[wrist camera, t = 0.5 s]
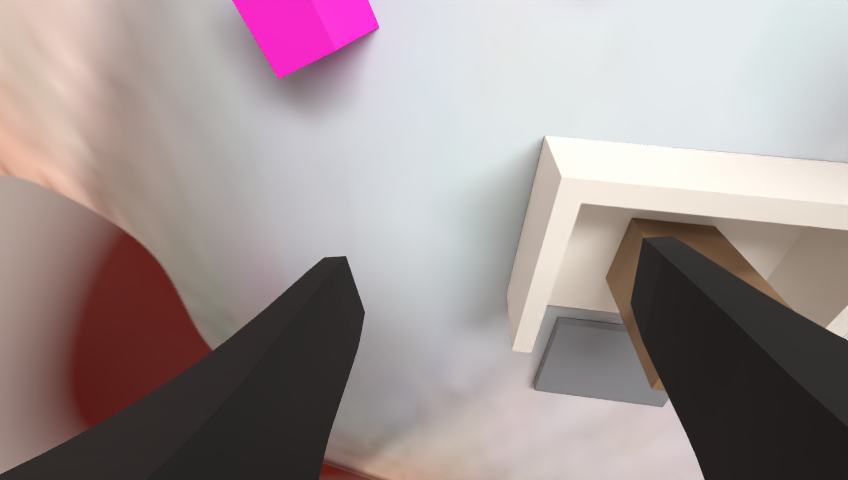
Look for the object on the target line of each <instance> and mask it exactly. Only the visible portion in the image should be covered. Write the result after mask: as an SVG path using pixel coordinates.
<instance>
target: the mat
mask: <svg viewBox="0 0 848 480" xmlns="http://www.w3.org/2000/svg"><path fill="white" fill-rule="evenodd" d="M534 388H535V390H536V391H544V392H551V393H559V394H566V395H574V396H582V397H589V398H597V399H604V400H612V401H619V402H627V403H635V404H642V405H650V406H657V407H663V406H664V404H665V403H666V402H667V400H668V399H669V397H668V394H667V392H666V391H660V390H652V389H651V387H650V384H649V382H648V379H647V377H646V375H645V372H644V370H643V367H642V365H641V363H640V360H639V358H638V355H637V353H636V351H635V348H634V346H633V343H632V341H631V339H630V336H629V334H628V331H627V329H626V327H625V325H620V324H612V323H604V322H595V321H587V320H578V319H570V318H562V317H558V318H557V321H556V324H555V327H554V329H553V332H552V335H551V338H550V340H549V343H548V346H547V349H546V351H545V354H544V357H543V359H542V362H541V365H540V368H539V370H538V373H537V376H536V379H535V381H534Z"/></svg>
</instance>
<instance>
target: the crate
mask: <svg viewBox="0 0 848 480" xmlns="http://www.w3.org/2000/svg"><path fill="white" fill-rule="evenodd" d="M631 218H642V219H651V220H661V221H671V222H680V223H690V224H700V225H710V226H715V227H716V228H717V229H718V230H719V231H720V232H721V233H722V234H723V235H724V236H725V237H726V238H727V239H728V240H729V242H730V243H731V244H732V245H733V246H734V247H735V248H736V249H737V250H738V251H739V252H740V253H741V254H742V256H743V257H744V258H745V259H746V260H747V261H748V262H749V263H750V264H751V265H752V266H753V267H754V268H755V270H756V271H757V272H758V273H759V274H760V275H761V276H762V277H763V278H764V279H765V280H766V281H767V282H768V284H769V285H770V286H771V287H772V288H773V289H774V290H775V291H776V292H777V293H778V294H779V295H780V296H781V298H782V299H783V300H784V301H785V302H786V303H787V304H788V305H789V306H790V307H791V308H792V309H793V310H794V311H795V312H797V313H799V314H800V315H802V316H804V317H806V318H808V319H809V320H811V321H813V322H815V323H817V324H818V325H820V326H822V327H824V328H826V329H827V330H829V331H831V332H833V333H835V334H837V335H838V336H840V337H842V338H843V337H844V336H845V335H846V334H847V333H848V163H838V162H827V161H816V160H805V159H794V158H783V157H772V156H761V155H750V154H739V153H728V152H717V151H706V150H695V149H684V148H674V147H663V146H652V145H641V144H630V143H619V142H608V141H597V140H586V139H575V138H564V137H553V136H545V138H544V142H543V146H542V150H541V154H540V158H539V162H538V166H537V171H536V175H535V179H534V183H533V187H532V191H531V195H530V199H529V203H528V208H527V212H526V216H525V220H524V224H523V228H522V232H521V236H520V241H519V245H518V249H517V253H516V257H515V261H514V265H513V269H512V273H511V278H510V282H509V286H508V290H507V302H508V313H509V324H510V335H511V346H512V351H519V352H527V353H531V352H532V349H533V346H534V343H535V340H536V337H537V334H538V331H539V328H540V325H541V322H542V319H543V316H544V313H545V310H546V307H547V305H554V306H563V307H571V308H579V309H588V310H596V311H605V312H613V313H620V312H619V310H618V307H617V305H616V303H615V300H614V298H613V295H612V293H611V290H610V288H609V286H608V283H607V281H606V276H607V273H608V271H609V269H610V266H611V264H612V262H613V259H614V257H615V255H616V253H617V250H618V248H619V246H620V243H621V241H622V239H623V236H624V234H625V232H626V229H627V227H628V225H629V222H630V220H631Z"/></svg>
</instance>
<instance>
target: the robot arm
mask: <svg viewBox="0 0 848 480" xmlns="http://www.w3.org/2000/svg"><path fill="white" fill-rule="evenodd" d="M630 304H631V307H632V310H633V314H634V317H635V320H636V324H637V327H638V330H639V333H640V336H641V339H642V342H643V344H644V346H645V348H646V350H647V353H648V355H649V357H650V359H651V361H652V363H653V365H654V367H655V369H656V372H657V374H658V376H659V378H660V380H661V382H662V384H663V386H664V388H665V390H666V392H667V394H668V397H669V399H670V401H671V403H672V405H673V407H674V409H675V411H676V413H677V415H678V417H679V419H680V421H681V424H682V426H683V428H684V430H685V432H686V434H687V436H688V439H689V441H690V443H691V446H692V448H693V450H694V452H695V455H696V457H697V460H698V463H699V465H700V468H701V471H702V474H703V476H704V479H705V480H848V340H846V339H844V338H842V337H840V336H838V335H837V334H835V333H833V332H831V331H829V330H827V329H826V328H824V327H822V326H820V325H818V324H817V323H815V322H813V321H811V320H809V319H808V318H806V317H804V316H802V315H800V314H799V313H797V312H795V311H793V310H792V309H790V308H788V307H786V306H785V305H783V304H781V303H780V302H778V301H776V300H775V299H773V298H771V297H769V296H768V295H766V294H764V293H763V292H761V291H760V290H758V289H756V288H755V287H753V286H751V285H750V284H748V283H747V282H745V281H743V280H742V279H740V278H739V277H737V276H735V275H734V274H732V273H731V272H729V271H727V270H726V269H724V268H723V267H721V266H720V265H718V264H717V263H715V262H713V261H712V260H710V259H709V258H707V257H706V256H704V255H703V254H701V253H699V252H698V251H696V250H695V249H693V248H692V247H690V246H688V245H687V244H685V243H683V242H682V241H680V240H678V239H677V238H675V237H673V236H663V237H647V238H643V239H642V244H641V250H640V255H639V260H638V265H637V271H636V276H635V281H634V286H633V292H632V297H631V302H630ZM364 314H365V311H364V308H363V305H362V302H361V299H360V296H359V293H358V290H357V288H356V285H355V282H354V279H353V276H352V273H351V270H350V267H349V264H348V261H347V258H346V256H342V257H325V258H323V259H322V260H321V261H319V262H318V263H317V264H316V265H314V266H313V267H312V268H311V269H310V270H309V271H308V272H306V273H305V274H304V275H303V276H302V277H301V278H300V279H299V280H297V281H296V282H295V283H294V284H293V285H292V286H291V287H290V288H288V289H287V290H286V291H285V292H284V293H283V294H282V295H281V296H279V297H278V298H277V299H276V300H275V301H274V302H273V303H271V304H270V305H269V306H268V307H267V308H266V309H265V310H263V311H262V312H261V313H260V314H259V315H257V316H256V317H255V318H254V319H253V320H251V321H250V322H249V323H248V324H246V325H245V326H244V327H243V328H242V329H240V330H239V331H238V332H237V333H235V334H234V335H233V336H232V337H231V338H229V339H228V340H227V341H225V342H224V343H223V344H222V345H220V346H219V347H218V348H216V349H215V350H213V351H212V352H211V353H209V354H208V355H207V356H205V357H204V358H202V359H201V360H200V361H198V362H197V363H195V364H194V365H193V366H191V367H190V368H188V369H187V370H185V371H184V372H182V373H181V374H179V375H178V376H176V377H175V378H173V379H172V380H170V381H169V382H167V383H165V384H164V385H162V386H161V387H159V388H157V389H156V390H154V391H153V392H151V393H149V394H148V395H146V396H145V397H143V398H141V399H140V400H138V401H137V402H135V403H134V404H132V405H130V406H129V407H127V408H125V409H124V410H122V411H120V412H118V413H117V414H115V415H113V416H111V417H110V418H108V419H106V420H105V421H103V422H101V423H99V424H97V425H96V426H94V427H92V428H90V429H88V430H86V431H85V432H83V433H81V434H79V435H77V436H75V437H73V438H72V439H70V440H68V441H66V442H65V443H62V444H60V445H58V446H57V447H55V448H53V449H51V450H49V451H47V452H45V453H43V454H41V455H39V456H37V457H35V458H33V459H31V460H29V461H27V462H25V463H23V464H21V465H18V466H17V467H14V468H12V469H11V470H9V471H6V472H4V473H2V474H0V480H319V476H320V472H321V467H322V463H323V459H324V454H325V450H326V446H327V442H328V439H329V435H330V432H331V428H332V425H333V422H334V419H335V416H336V413H337V410H338V407H339V404H340V401H341V398H342V395H343V392H344V389H345V386H346V383H347V380H348V377H349V374H350V371H351V368H352V365H353V362H354V359H355V356H356V353H357V349H358V346H359V341H360V336H361V331H362V326H363V320H364Z"/></svg>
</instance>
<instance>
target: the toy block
mask: <svg viewBox="0 0 848 480" xmlns="http://www.w3.org/2000/svg"><path fill="white" fill-rule="evenodd" d="M232 1H233V2H234V4H235V6H236V7H237V9H238V11H239V13H240V14H241V16H242V18H243V19H244V21H245V23H246V24H247V26H248V28H249V29H250V31H251V33H252V34H253V36H254V38H255V40H256V41H257V43H258V45H259V46H260V48H261V50H262V51H263V53H264V55H265V56H266V58H267V60H268V62H269V63H270V65H271V67H272V68H273V70H274V72H275V73H276V75H277V77H278V78H279V79H280V78H282V77H284V76H286V75H288V74H290V73H292V72H294V71H296V70H298V69H300V68H302V67H304V66H306V65H308V64H310V63H312V62H314V61H316V60H318V59H320V58H322V57H324V56H326V55H328V54H330V53H332V52H334V51H336V50H338V49H340V48H341V47H343V46H345V45H347V44H349V43H350V42H352V41H354V40H356V39H358V38H360V37H362V36H363V35H365V34H367V33H369V32H371V31H373V30H375V29H377V28H379V25H378V22H377V20H376V18H375V15H374V13H373V11H372V8H371V6H370V4H369V1H368V0H232Z"/></svg>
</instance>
